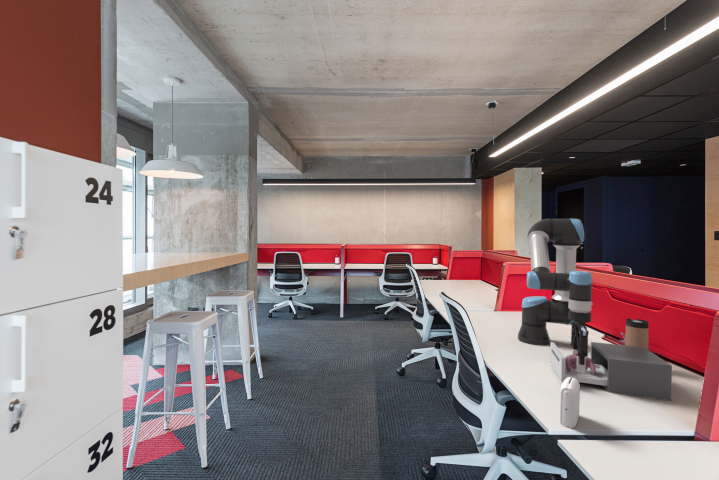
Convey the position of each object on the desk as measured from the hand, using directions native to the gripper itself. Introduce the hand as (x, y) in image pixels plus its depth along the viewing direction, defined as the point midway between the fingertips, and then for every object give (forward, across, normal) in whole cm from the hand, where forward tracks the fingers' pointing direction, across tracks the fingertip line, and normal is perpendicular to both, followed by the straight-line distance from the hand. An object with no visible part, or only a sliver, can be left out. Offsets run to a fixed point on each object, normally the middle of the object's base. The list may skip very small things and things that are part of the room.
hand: (578, 369), depth 131 cm
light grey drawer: (+2, 0, -1) cm, 2 cm away
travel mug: (+4, +22, -27) cm, 35 cm away
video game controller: (+1, 0, 0) cm, 1 cm away
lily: (+4, +40, -32) cm, 51 cm away
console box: (+3, 0, -16) cm, 16 cm away
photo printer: (+4, -36, +11) cm, 38 cm away
